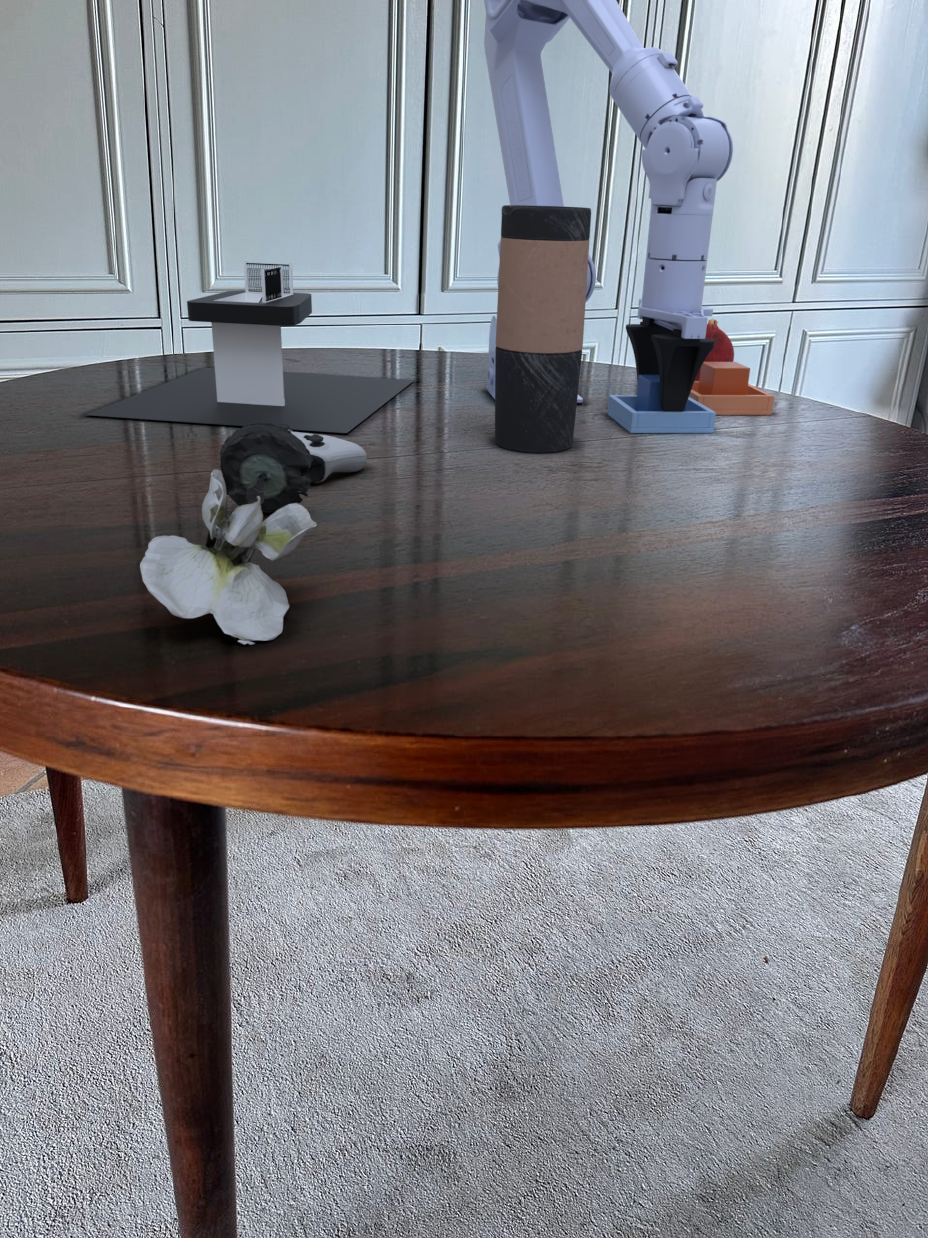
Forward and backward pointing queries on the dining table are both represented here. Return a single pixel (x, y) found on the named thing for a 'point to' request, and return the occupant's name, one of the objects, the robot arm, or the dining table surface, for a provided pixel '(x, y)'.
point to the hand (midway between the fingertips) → (660, 403)
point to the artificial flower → (238, 537)
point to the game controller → (329, 455)
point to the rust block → (723, 378)
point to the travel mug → (540, 325)
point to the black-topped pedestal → (258, 369)
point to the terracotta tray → (736, 402)
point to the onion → (718, 345)
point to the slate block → (649, 393)
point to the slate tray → (661, 417)
